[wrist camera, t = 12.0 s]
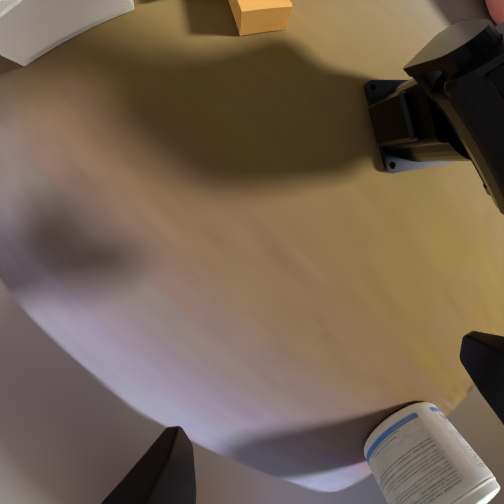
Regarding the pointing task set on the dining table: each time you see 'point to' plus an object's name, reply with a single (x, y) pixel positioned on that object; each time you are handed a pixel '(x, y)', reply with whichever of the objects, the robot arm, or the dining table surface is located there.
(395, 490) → the supplement tub
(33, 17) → the tub
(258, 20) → the lid
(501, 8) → the cell model
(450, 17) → the dining table surface
